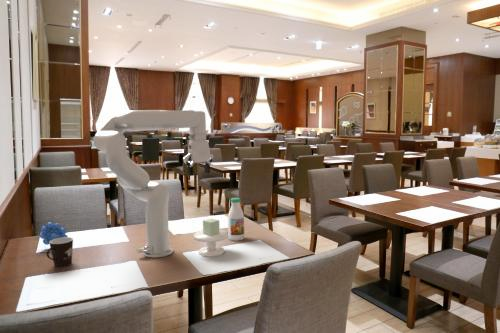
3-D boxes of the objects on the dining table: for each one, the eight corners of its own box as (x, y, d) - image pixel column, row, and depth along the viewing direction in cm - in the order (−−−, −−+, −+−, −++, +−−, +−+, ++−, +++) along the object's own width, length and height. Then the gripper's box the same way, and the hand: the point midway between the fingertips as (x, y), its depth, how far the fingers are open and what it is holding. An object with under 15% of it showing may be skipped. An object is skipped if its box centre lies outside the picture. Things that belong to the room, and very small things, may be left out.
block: (210, 236, 164) (210, 222, 163) (203, 234, 168) (202, 220, 167) (219, 233, 168) (219, 220, 167) (212, 231, 171) (211, 218, 170)
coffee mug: (68, 258, 163) (66, 236, 162) (78, 263, 158) (76, 239, 157) (39, 267, 154) (37, 243, 153) (49, 272, 149) (47, 247, 148)
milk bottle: (225, 239, 186) (224, 199, 184) (233, 235, 193) (232, 196, 190) (239, 241, 182) (238, 200, 180) (247, 237, 189) (246, 197, 187)
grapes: (40, 252, 173) (38, 226, 171) (40, 248, 178) (38, 222, 177) (69, 247, 178) (67, 222, 177) (67, 243, 184) (66, 219, 183)
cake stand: (209, 261, 158) (208, 241, 157) (187, 253, 168) (186, 234, 167) (235, 252, 169) (235, 233, 168) (213, 244, 179) (212, 227, 178)
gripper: (187, 138, 171) (189, 176, 173) (217, 137, 183) (218, 172, 185) (178, 138, 176) (179, 175, 178) (207, 136, 189) (208, 171, 191)
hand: (199, 174), depth 182 cm, fingers open, 9 cm apart
